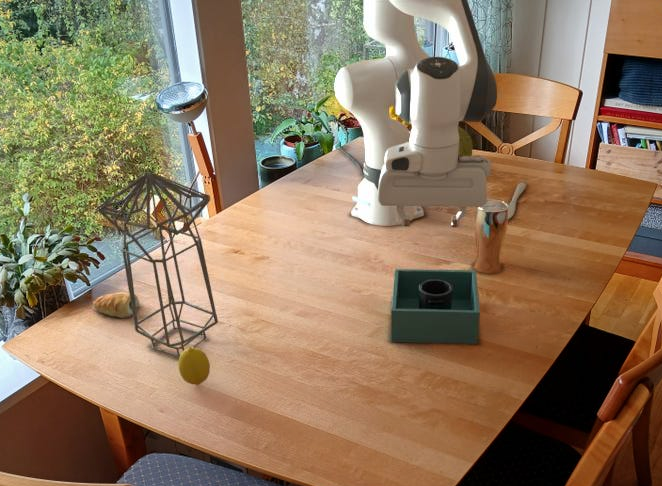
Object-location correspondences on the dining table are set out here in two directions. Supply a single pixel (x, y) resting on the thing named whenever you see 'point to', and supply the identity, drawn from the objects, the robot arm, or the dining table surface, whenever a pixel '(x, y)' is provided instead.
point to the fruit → (464, 143)
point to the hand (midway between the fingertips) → (430, 225)
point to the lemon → (194, 365)
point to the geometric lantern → (162, 184)
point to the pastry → (115, 304)
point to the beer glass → (490, 235)
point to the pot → (435, 295)
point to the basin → (430, 322)
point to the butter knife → (515, 199)
